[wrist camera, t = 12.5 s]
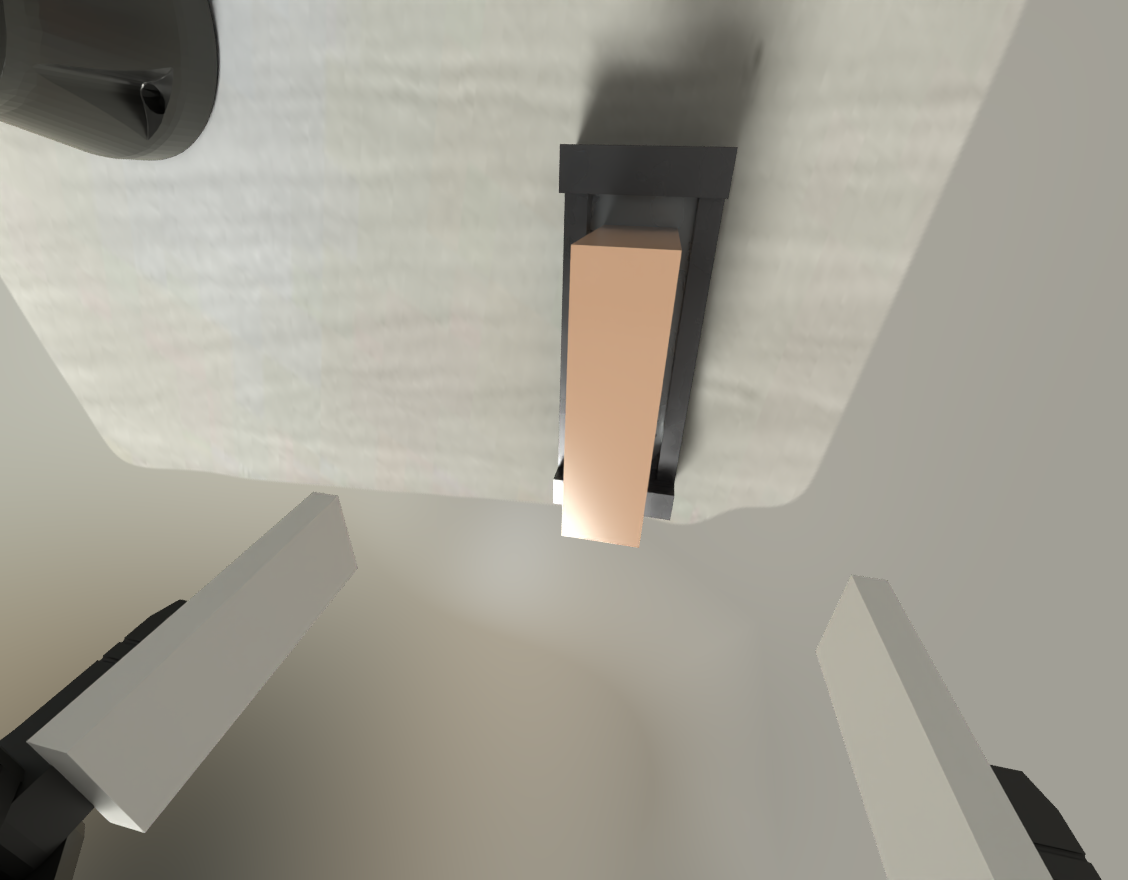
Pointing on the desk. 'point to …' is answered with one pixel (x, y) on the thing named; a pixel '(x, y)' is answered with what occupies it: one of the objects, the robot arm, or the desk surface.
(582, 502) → the orange rectangular block
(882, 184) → the desk surface
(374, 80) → the desk surface
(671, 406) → the dark grey tray
